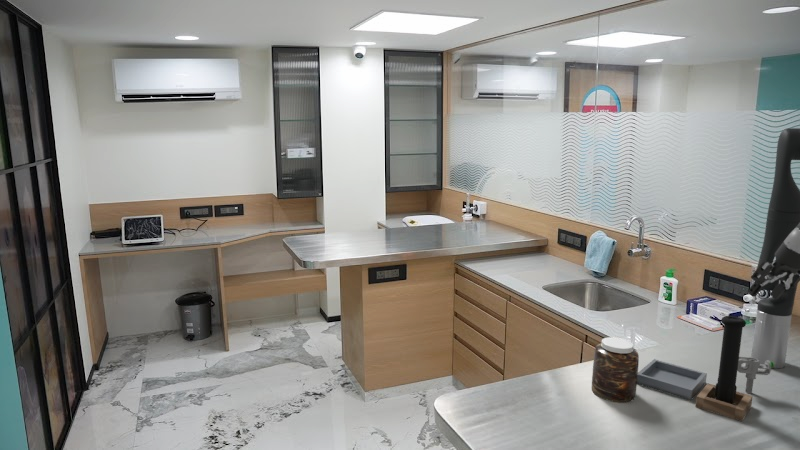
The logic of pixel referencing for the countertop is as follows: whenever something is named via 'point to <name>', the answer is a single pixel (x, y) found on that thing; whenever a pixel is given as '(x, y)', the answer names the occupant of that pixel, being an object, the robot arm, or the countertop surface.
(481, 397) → the countertop surface
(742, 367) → the mechanical component
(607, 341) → the jar
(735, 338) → the tube
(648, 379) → the tray
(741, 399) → the collar
